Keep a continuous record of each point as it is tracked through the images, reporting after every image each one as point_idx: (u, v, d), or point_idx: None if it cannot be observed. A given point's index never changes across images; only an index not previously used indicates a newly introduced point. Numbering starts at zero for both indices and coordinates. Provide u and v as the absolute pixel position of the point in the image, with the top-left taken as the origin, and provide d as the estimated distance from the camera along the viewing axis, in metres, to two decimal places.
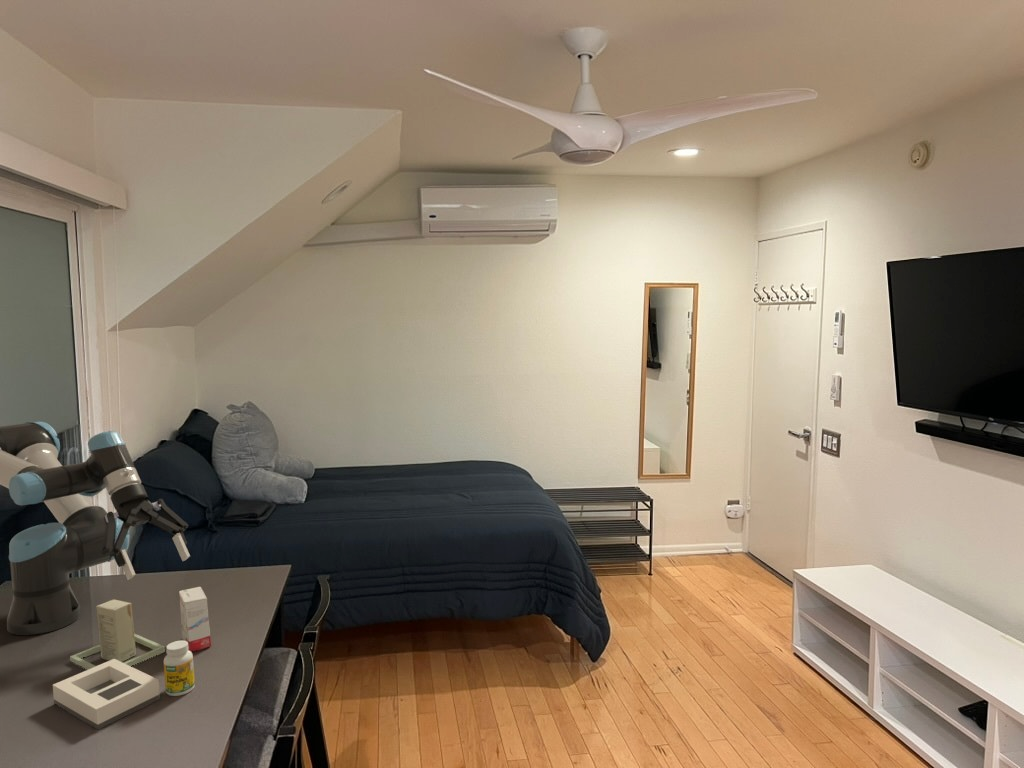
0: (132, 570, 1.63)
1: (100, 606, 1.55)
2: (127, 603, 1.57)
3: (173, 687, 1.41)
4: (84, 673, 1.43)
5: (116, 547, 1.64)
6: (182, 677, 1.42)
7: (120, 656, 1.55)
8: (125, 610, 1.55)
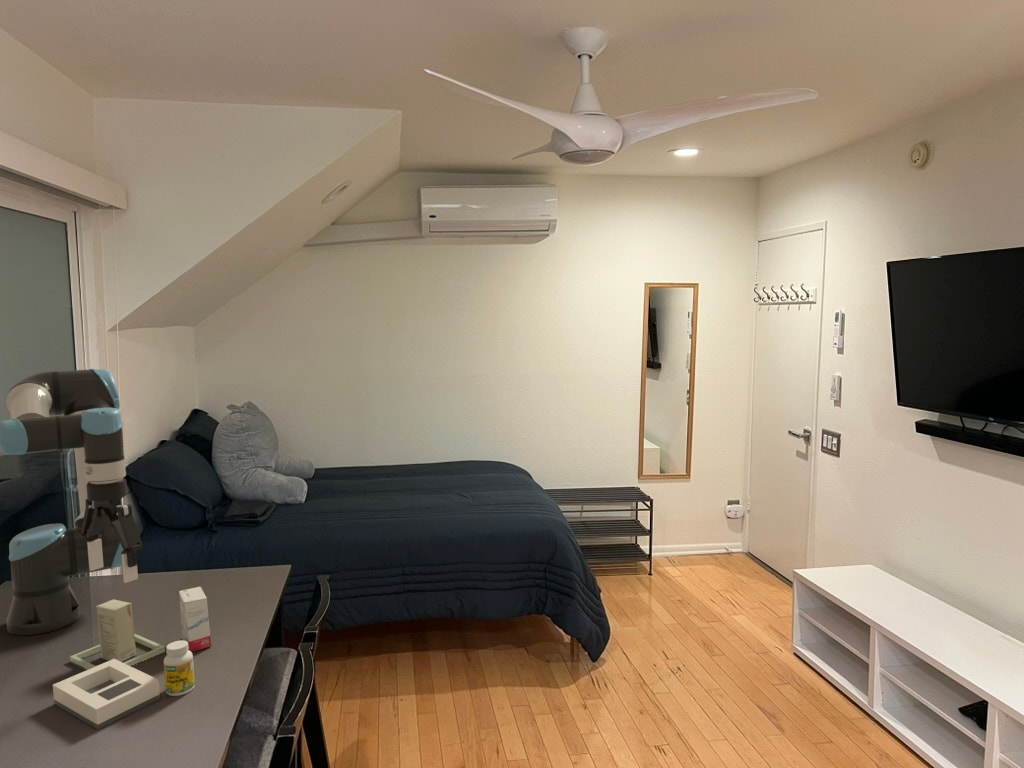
0: (90, 565, 1.58)
1: (100, 606, 1.55)
2: (127, 603, 1.57)
3: (173, 687, 1.41)
4: (84, 673, 1.43)
5: (85, 537, 1.58)
6: (182, 677, 1.42)
7: (120, 656, 1.55)
8: (125, 610, 1.55)
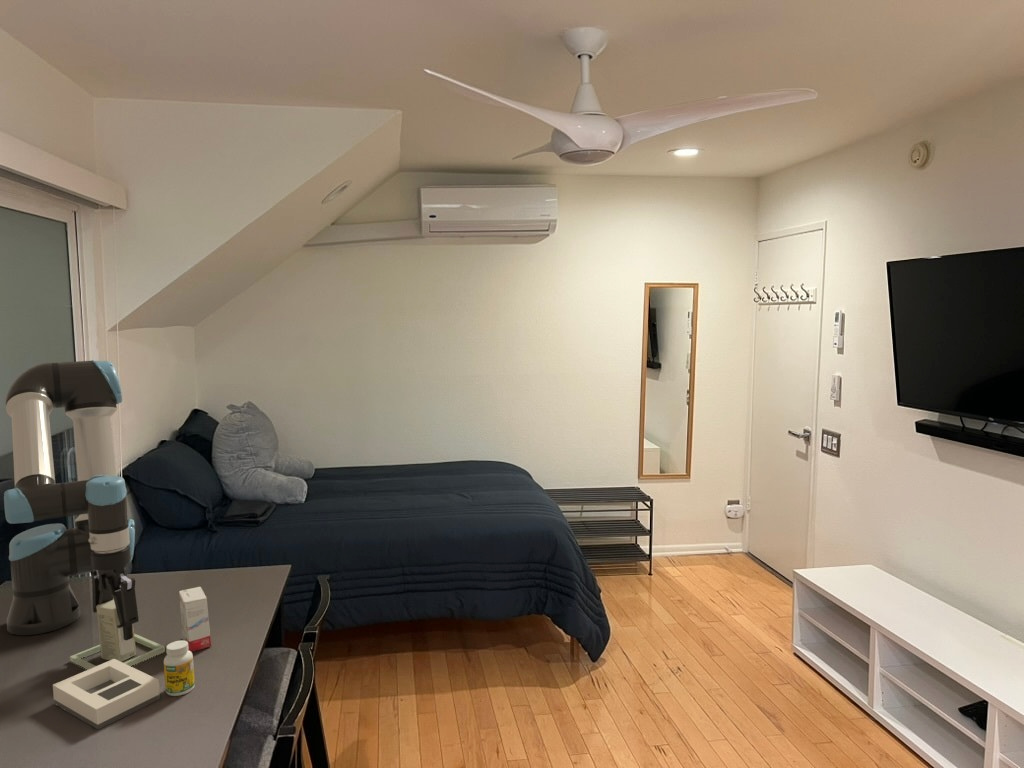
0: None
1: (100, 606, 1.55)
2: None
3: (173, 687, 1.41)
4: (84, 673, 1.43)
5: None
6: (182, 677, 1.42)
7: (120, 655, 1.55)
8: None
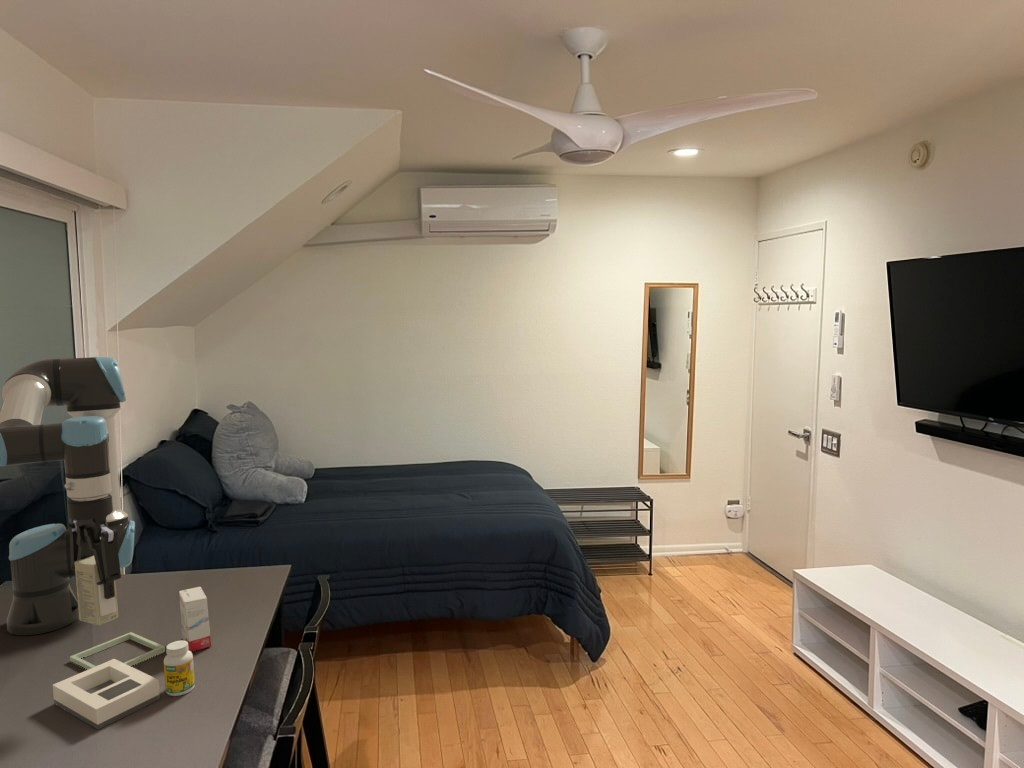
0: None
1: (78, 562, 1.39)
2: None
3: (173, 687, 1.41)
4: (84, 673, 1.43)
5: None
6: (182, 677, 1.42)
7: (100, 617, 1.38)
8: None
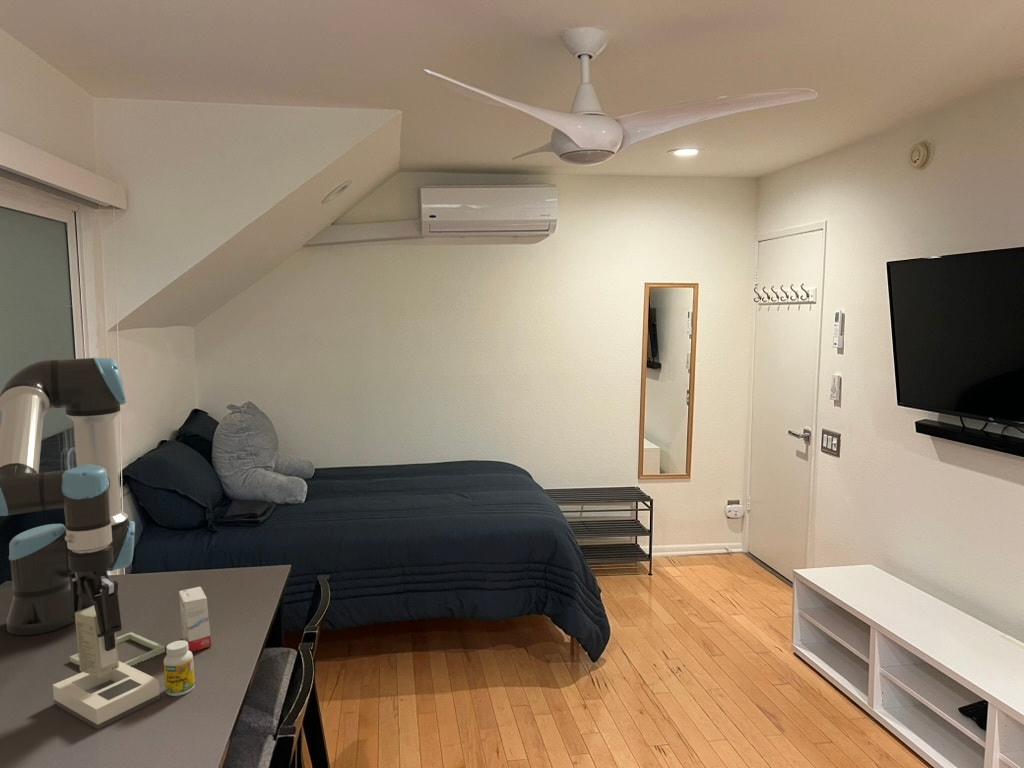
0: None
1: (79, 613, 1.38)
2: None
3: (173, 687, 1.41)
4: (84, 673, 1.43)
5: None
6: (182, 677, 1.42)
7: (100, 669, 1.37)
8: None
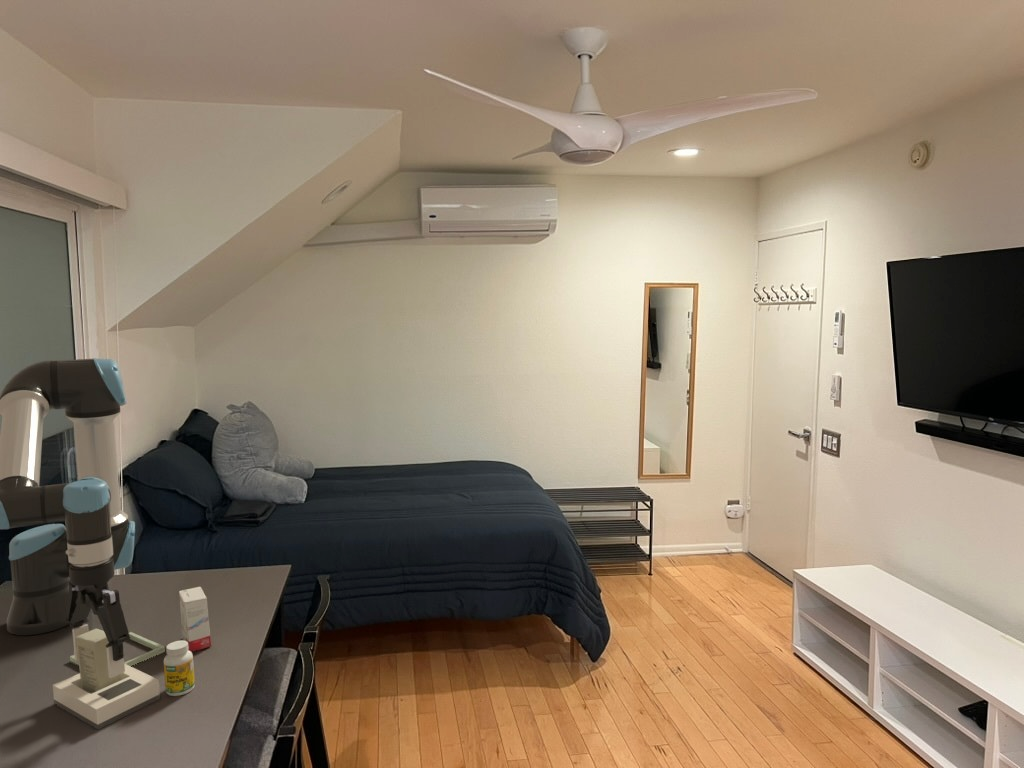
0: (75, 655, 1.42)
1: (80, 637, 1.39)
2: None
3: (173, 687, 1.41)
4: None
5: (70, 623, 1.42)
6: (182, 677, 1.42)
7: None
8: (107, 642, 1.39)
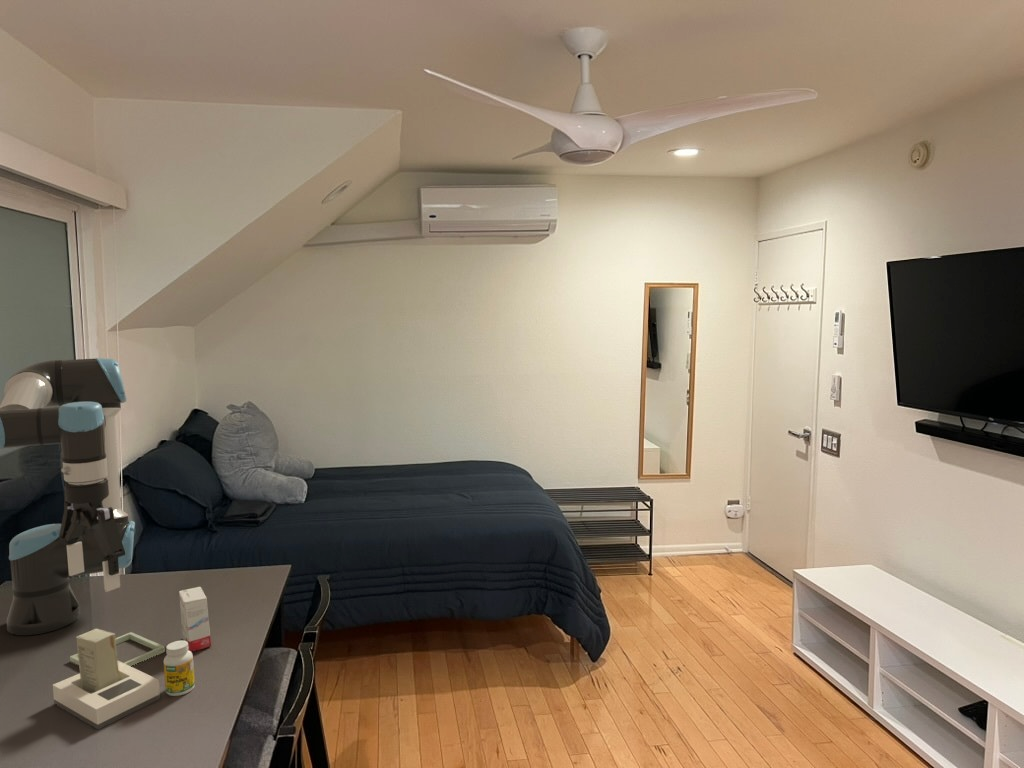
0: (69, 570, 1.47)
1: (80, 637, 1.39)
2: (110, 634, 1.40)
3: (173, 687, 1.41)
4: None
5: (65, 540, 1.46)
6: (182, 677, 1.42)
7: None
8: (107, 642, 1.39)
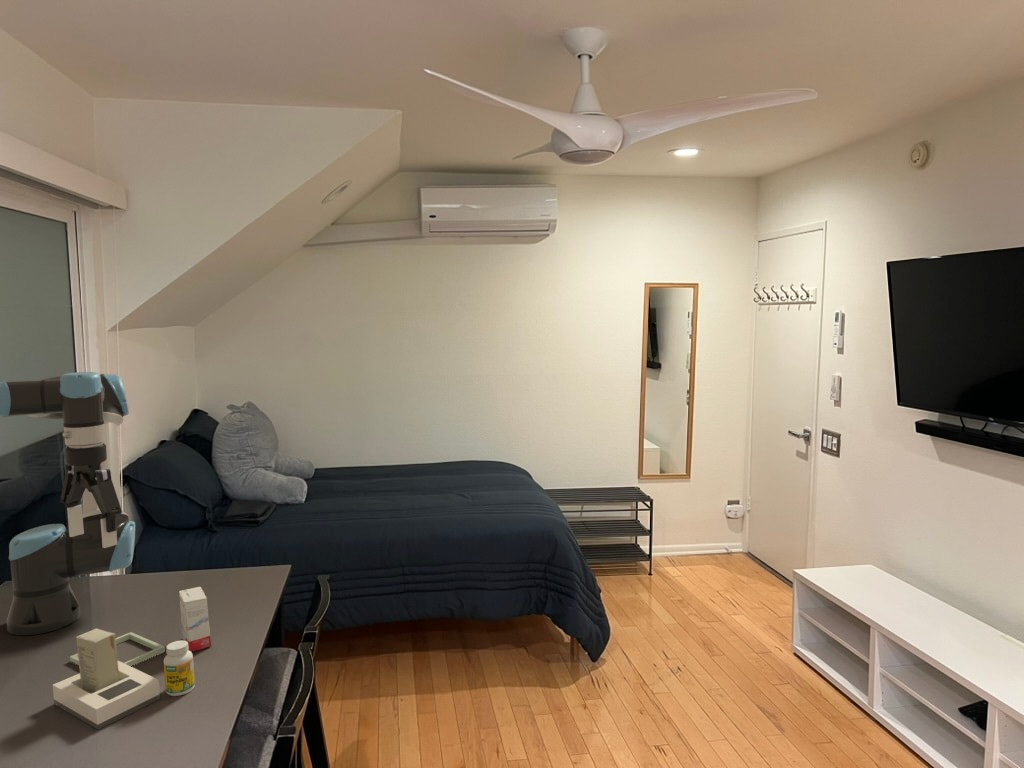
0: (70, 532, 1.57)
1: (80, 637, 1.39)
2: (110, 634, 1.40)
3: (173, 687, 1.41)
4: None
5: (65, 503, 1.57)
6: (182, 677, 1.42)
7: None
8: (107, 642, 1.39)
